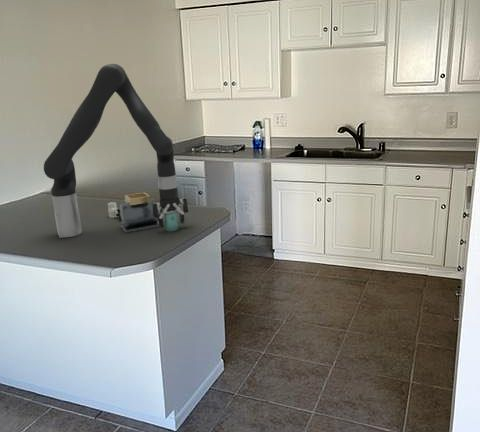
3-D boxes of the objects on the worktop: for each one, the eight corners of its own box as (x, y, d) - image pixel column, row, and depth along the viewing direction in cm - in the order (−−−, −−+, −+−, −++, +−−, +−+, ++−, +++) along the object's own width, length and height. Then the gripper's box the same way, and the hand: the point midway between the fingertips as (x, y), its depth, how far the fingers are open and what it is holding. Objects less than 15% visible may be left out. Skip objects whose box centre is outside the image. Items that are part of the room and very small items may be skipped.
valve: (105, 217, 219) (117, 222, 211) (103, 204, 218) (115, 208, 209) (118, 214, 224) (130, 219, 215) (116, 201, 222) (128, 205, 213)
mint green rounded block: (164, 228, 197) (162, 212, 195) (175, 226, 199) (174, 210, 197) (169, 233, 191) (167, 216, 189) (181, 230, 193) (179, 214, 191)
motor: (126, 232, 195) (122, 200, 191) (120, 226, 204) (116, 196, 200) (164, 225, 202) (161, 194, 198) (157, 220, 210) (154, 190, 207)
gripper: (153, 190, 185) (157, 230, 189) (187, 185, 191) (191, 224, 195) (148, 187, 191) (152, 225, 196) (181, 182, 197) (185, 219, 202)
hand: (172, 224), depth 195 cm, fingers open, 8 cm apart
